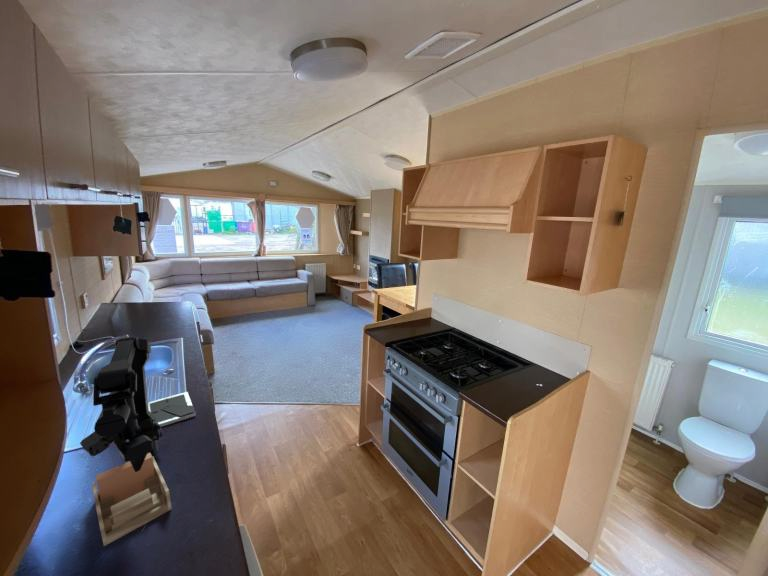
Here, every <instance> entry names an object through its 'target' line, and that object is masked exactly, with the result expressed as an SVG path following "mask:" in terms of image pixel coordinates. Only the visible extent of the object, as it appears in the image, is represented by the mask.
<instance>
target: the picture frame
mask: <svg viewBox="0 0 768 576" xmlns="http://www.w3.org/2000/svg"><path fill="white" fill-rule="evenodd" d="M148 409H149V411H150V412H151V413H152V414H153V415H154V416H155V419H156V423H157V422H158V424H159V425H160V426H161V428H163V427H166V426H168V425H171V424H175V423H178V422H181V421H184V420H188V419H190V418H193V417H196V415H197V414H196V410H195V407H194V405H193V403H192V400H191V397H190V395H189V392H188V391H185V392H182V393H178V394H177V393H176V394H173V395H169V396H167V397H163V398H159V399H156V400H152V401H148ZM187 418H188V419H187Z"/></svg>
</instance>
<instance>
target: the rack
mask: <svg viewBox="0 0 768 576" xmlns="http://www.w3.org/2000/svg"><path fill="white" fill-rule="evenodd" d="M152 459H153V465H154V471H155V476H153V477H151V478H149V479H146V480H145V485H146V489H148V488H149V491H150V493H151V495H153V494H155V493H157V495H158V498H159V500H160V506H159V507H157V508H155V509H153V510H151V511H149V512H147V513H145V514H143V515H142V516H140V517H138V518H136V519H134V520H132V521H130V522H128V523H126V524H125V525H123V526H121V527H119V528H117V529H115V530H113V531H112V526H111V522H110V517H109V516H111V515H112V513H111V508H110V507H111V506H113V505H115V503H114V498H113V495H112V496H110V497H108V498H106V499H104V500H102V501H101V500H100V495H99V491H98V487H97V482H96V481H93V482H91V487H92V492H93V497H94V498H93V499H94V503H95V509H96V513H97V514H96V515H97V520H98V525H99V530H100V535H101V539H102V543H103V544H102V545H103V547H106V546H108V545H109V544H111V543H112V542H115V541H116V540H118V539H121V538H122V537H124V536H126V535H127V534H129V533H131V532H133V531H135V530H137V529H138V528H140V527H142V526H144V525H145V524H147V523H149V522H151V521H153V520H155V519H156V518H158V517H160V516H162V515H164V514H167V513H168V512H170V511H171V510H172V509H173V508H172V501H171V495H170V494H171V493H170V489H169V488H168V484H167V483H166V481H165V479H164V476H163V475H162V472H161V470H160V467H159V466H158V463H157V461H156V459H155V457H152Z"/></svg>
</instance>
